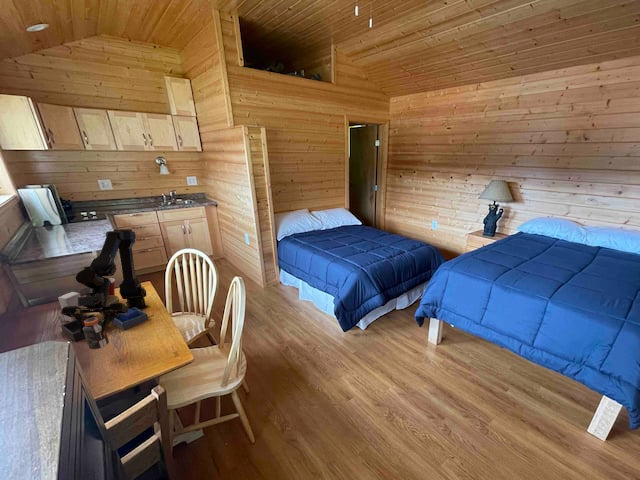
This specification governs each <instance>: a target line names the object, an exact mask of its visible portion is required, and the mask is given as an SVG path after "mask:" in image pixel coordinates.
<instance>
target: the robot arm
mask: <svg viewBox="0 0 640 480" xmlns="http://www.w3.org/2000/svg"><path fill="white" fill-rule="evenodd" d="M136 238H137V236H136V232H135V231H134V230H132V229H130V228H122V229H121V228H115V229H113V230H108V231H106V232H105V239H104V242H103V244H102V247H101V250H100V252H99V255H98V256H97V257H95V258H94V259H92V261H91V263H90V264H89V266H84V267H83V269H82V270H80V271H79V272H78V273H76V274H75V281H76V282H77V283H79V284H81V285H82V286H84V287H86V288H88V289H89V291H88V292H86V294H85V296H81V297H78V306H82V305H83V307H84V308H79V307H77V306H66V307H64V308H61V310H60V315H62V316H64V315H65V316H68V317H75V318H76V320H77V322H78V325H79V328H80V332H81V334H84V332H83V327H84V326H85V323H84V321H85V320H86V319H88V317H87V316H88V315H86V316H85V313H86V314H92V313H93V314H95V313H99V312H103V313H104V316H103V319H102V320H103V324H102V332H104V331H105V330H106V331H107V330H108V328H109V326H110V325H111V324H112V321H113V320H114V318H115V317H116V316H119V314H123V313H128V309H131V308H134V307H136V308H138V309H139V310H141V311H142V310H144V309H147V308H148V307H149V306H148V305H146V301H145V298H146V297H147V295H148V294H147V289H146V288H145V287H143V286H142V282H141V281H140V280H139V279H138V278H137V276H136V275H137V274H136V269H135V260H134V255H133V254H134V253H133V247H134V246H135V244H136ZM117 252H119V259H120V265H121V273H122V281H121V283H120V284H119V285H118V288H119V292H118V293H119V295H120V297H121V298H122V300H126V301H125V303H123V302H119V303H113V304H110V306H109V307H108V306H107V300H108V299H109V298H110V296H108V294H109V287H110V285H111V284H112V282H111V281H110V280H109V278H110V277H112V276H113V277H114V275H115V273H117V265H116V263H115V258H116V256H117V254H118V253H117ZM118 313H119V314H118Z"/></svg>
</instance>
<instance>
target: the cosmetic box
mask: <svg viewBox="0 0 640 480" xmlns="http://www.w3.org/2000/svg"><path fill="white" fill-rule="evenodd" d="M78 297H82V296H81V294H80V292H75V291H71V292H68V293H65V294H63V295H60V296H58V297H57V300H58V302H59V306H60V308H61V309H62V308H64V307H66V306H77V307H79V308H85V307H83V305H82V306H78ZM85 316H87V313H85ZM63 317H64V320H65V321H66V322H72V321H75V320H76V318H75V317H68V316H65V315H63Z"/></svg>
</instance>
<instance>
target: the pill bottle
mask: <svg viewBox="0 0 640 480" xmlns="http://www.w3.org/2000/svg"><path fill="white" fill-rule="evenodd" d="M97 317H98V316H97ZM97 317H92V318H89V319H86V320H85V321H84V323H85V326H84V327H83V332H84V335H85V338H84V339H85V340H86V343H87V346H88V349H90V350H101V349H102V348H106V347H107V346H108V345H109V343H110V339H109V337H108V334H107V329H106V330H105V331H104V332H102V324H103V323H102V322H99V319H98V318H99V317H98V318H97Z"/></svg>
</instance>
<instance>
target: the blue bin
mask: <svg viewBox="0 0 640 480" xmlns="http://www.w3.org/2000/svg"><path fill="white" fill-rule="evenodd" d="M131 310H136V311H137V314H138V317H136V318H133V319H131V320H128V321H125V322H122V321H121V317H120V314H119V313H118V314H119V316H116V317H115V318H114V320H113V321H112V322H111V324H113V325H115V326H116V327H117V328H119V329H121V330H122V331H126V330H128V329H131V328H133V327H136V326H138V325H140V324H143V323H145V322H148V321H149V316H148V312H145V311H143V310H142V309H141V310H139V309H138V308H136V307H134V308H131Z"/></svg>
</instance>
